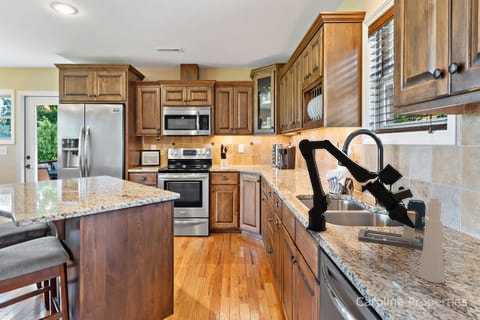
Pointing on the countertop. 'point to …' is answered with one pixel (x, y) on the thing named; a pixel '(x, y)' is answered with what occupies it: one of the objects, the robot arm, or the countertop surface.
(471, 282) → the countertop surface
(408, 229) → the fader
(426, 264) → the cosmetic bottle
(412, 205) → the soda can
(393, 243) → the grey slider track
